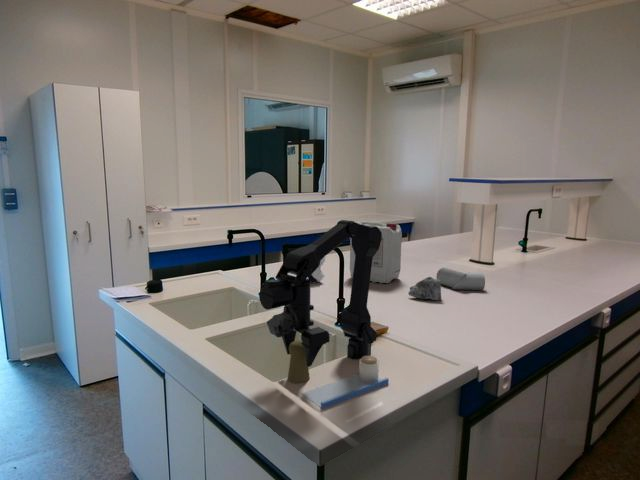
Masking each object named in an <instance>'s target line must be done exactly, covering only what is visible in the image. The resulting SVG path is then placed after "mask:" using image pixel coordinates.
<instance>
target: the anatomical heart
mask: <svg viewBox="0 0 640 480" xmlns="http://www.w3.org/2000/svg"><path fill="white" fill-rule="evenodd" d="M325 261H326V256H325V257H323V259H322V260H321V262H320V265H319V267H318V268H317V269H316V270H315V271H314V272H313V274H312V276H313V277H314V278H315V279H317V282H316V283H318V282H319V283H320V281H323V279H324V278H325V277H326V276H325V273H324V272H323V271H322V269H321V267H323V265H324V263H326V262H325Z"/></svg>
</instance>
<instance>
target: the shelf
mask: <svg viewBox="0 0 640 480" xmlns="http://www.w3.org/2000/svg"><path fill="white" fill-rule="evenodd" d="M389 382H390V381H389V378H388V377H385V378H379V377H378V381H376V382H374V383H371V384H367V383H363V382H361V381H360V380H359V372H358V373H355V374H353V375H350V376H347V377H345V378H340V379H339V380H336V381H333V382H329V383H327V384H324V385H321V386H319V387H315V388H313V389H312V388H311V389H310V390H306V391H305V392H301V395H303V396H304V397H305V398H306V399H308V400H309V401H311V402H312V403H313V404H315V405H316V406H318V407H319V408H320V409H322V410H324V409H326V408H329V407H332V406H334V405H337V404H339V403H343V402H345V401H347V400H349V399H350V400H351V399H352V398H355V397H358V396H360V395H363V394H365V393H368V392H371V391H374V390H375V389H379V388H381V387H383V386H386V385H389Z"/></svg>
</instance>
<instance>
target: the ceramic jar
mask: <svg viewBox="0 0 640 480" xmlns="http://www.w3.org/2000/svg"><path fill="white" fill-rule="evenodd" d="M358 360H359V361H358V362H359V366H358V369H359V370H358V373H359V380H360V381H361V382H363V383H367V384H371V383H374V382H376V381H378V378H379V374H380V373H379V371H380V370H379V367H380V366H379V365H380V364H379V363H380V361H379V359H378V358H377V357H376V356H373V355H369V356H363V357H362V358H361V359H358Z"/></svg>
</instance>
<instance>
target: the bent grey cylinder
mask: <svg viewBox="0 0 640 480" xmlns="http://www.w3.org/2000/svg"><path fill="white" fill-rule="evenodd" d="M435 277H436V278H435V279H439V280H440V283H441V285H444V286H447V287H449V288H452V289H451V290H454V291H455V290H457V291H459V290H460V291H463V290H464V291H483V290H485V287H486V276H485V274H484V272H470V271H469V272H466V273H465V272H461V271H457V270H454V269H451V268H447V267H441V268H439V269H438V271H437V273H436V276H435Z"/></svg>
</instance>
